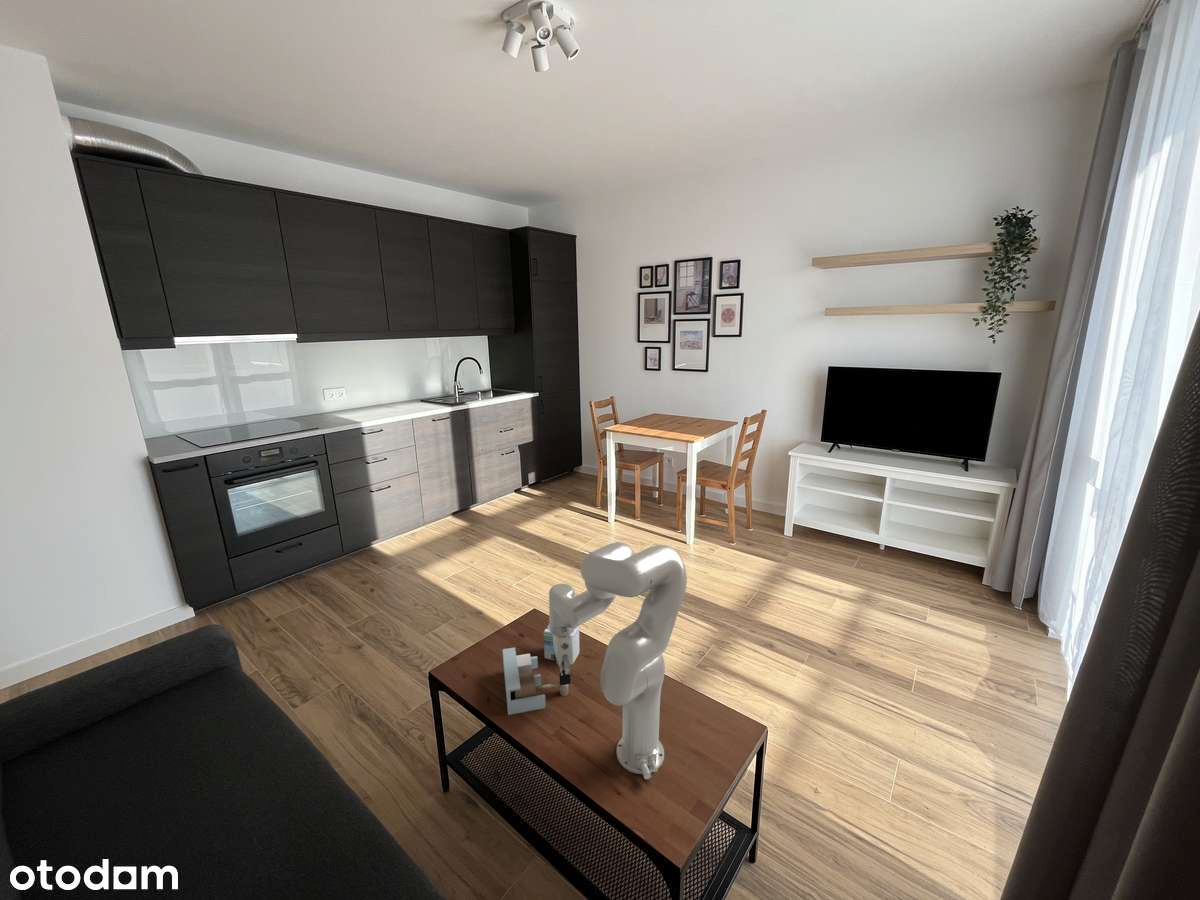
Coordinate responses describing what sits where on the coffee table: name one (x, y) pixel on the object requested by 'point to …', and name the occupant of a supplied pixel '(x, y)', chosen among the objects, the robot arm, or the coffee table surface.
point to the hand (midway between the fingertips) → (562, 672)
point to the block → (524, 664)
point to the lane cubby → (514, 684)
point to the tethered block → (535, 687)
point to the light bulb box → (549, 643)
